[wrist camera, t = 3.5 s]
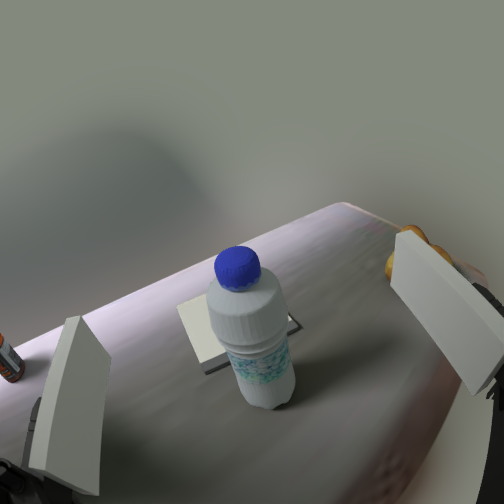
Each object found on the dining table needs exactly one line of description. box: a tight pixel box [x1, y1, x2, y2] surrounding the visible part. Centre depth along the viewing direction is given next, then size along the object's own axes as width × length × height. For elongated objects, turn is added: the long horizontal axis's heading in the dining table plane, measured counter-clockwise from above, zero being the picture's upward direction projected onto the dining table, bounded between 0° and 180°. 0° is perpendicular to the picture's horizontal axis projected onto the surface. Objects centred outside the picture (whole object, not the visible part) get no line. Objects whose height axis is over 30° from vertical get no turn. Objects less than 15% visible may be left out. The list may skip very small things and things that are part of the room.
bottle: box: [206, 246, 295, 410], centre depth 27 cm, size 7×7×20 cm
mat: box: [176, 293, 299, 374], centre depth 43 cm, size 14×15×1 cm
